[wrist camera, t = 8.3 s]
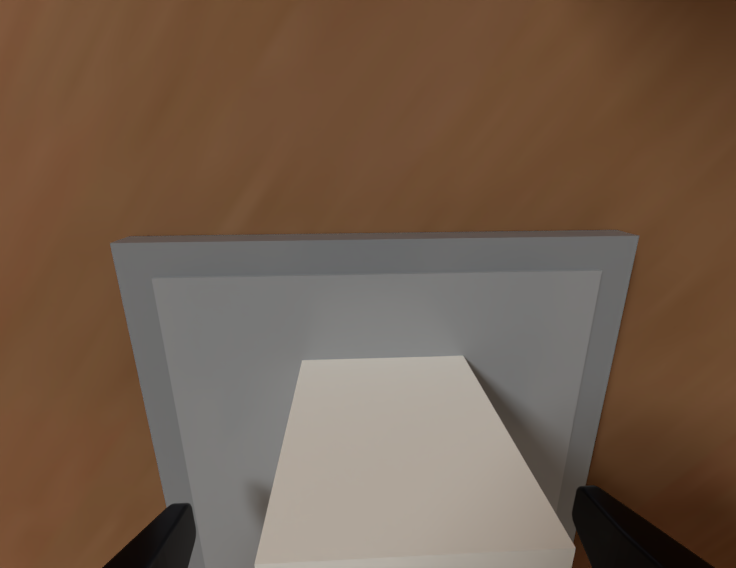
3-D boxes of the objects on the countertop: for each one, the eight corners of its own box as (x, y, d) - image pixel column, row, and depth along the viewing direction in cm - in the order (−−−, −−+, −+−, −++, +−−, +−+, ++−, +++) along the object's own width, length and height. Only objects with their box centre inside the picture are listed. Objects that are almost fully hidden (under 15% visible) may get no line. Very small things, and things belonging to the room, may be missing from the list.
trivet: (616, 229, 10) (641, 236, 9) (549, 571, 13) (563, 600, 13) (129, 235, 9) (107, 243, 8) (199, 590, 13) (189, 620, 12)
